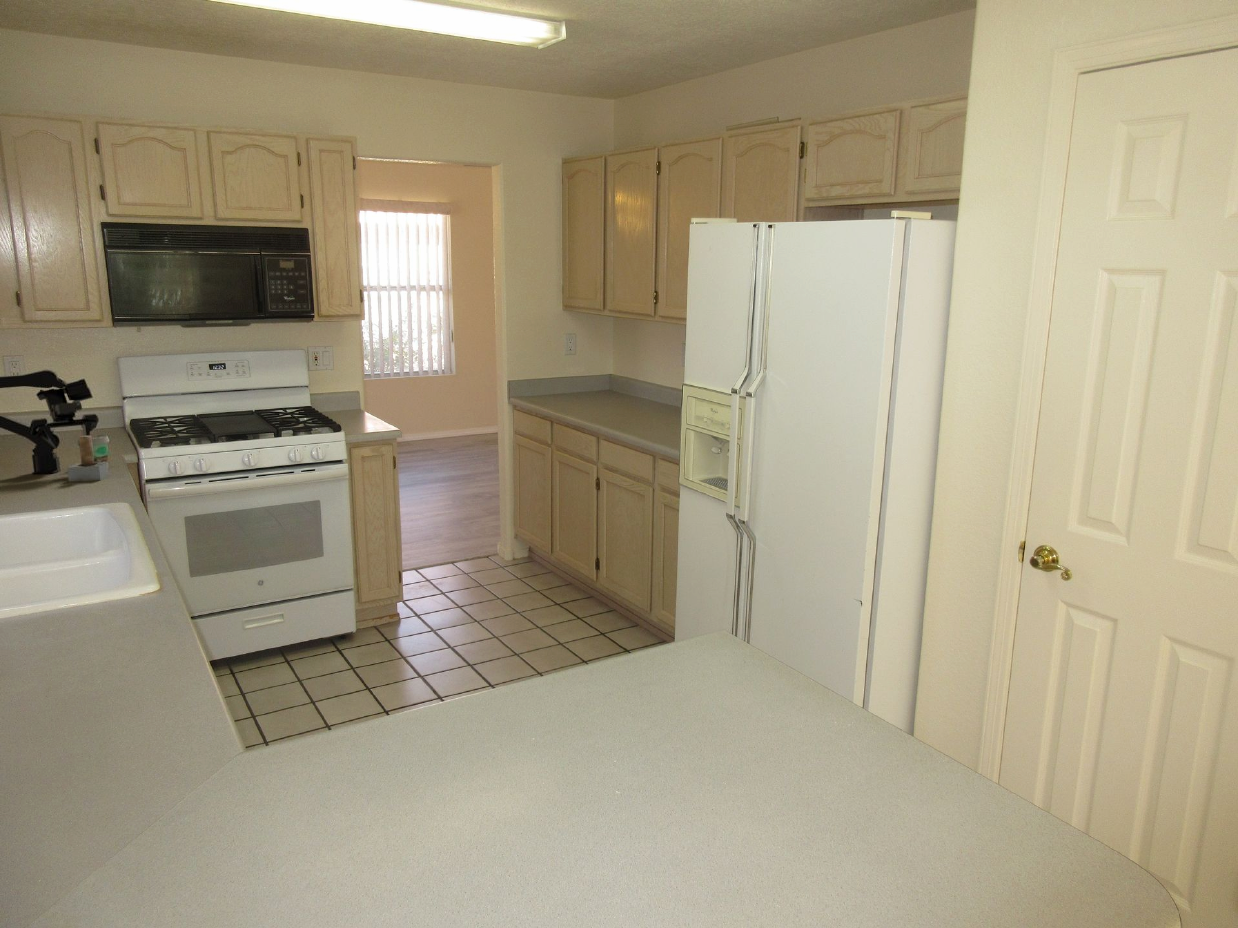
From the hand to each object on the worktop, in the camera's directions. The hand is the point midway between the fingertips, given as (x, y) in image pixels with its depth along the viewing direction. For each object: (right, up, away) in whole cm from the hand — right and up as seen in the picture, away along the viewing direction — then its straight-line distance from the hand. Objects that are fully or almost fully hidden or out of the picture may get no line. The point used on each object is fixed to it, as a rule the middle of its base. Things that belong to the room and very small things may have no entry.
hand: (72, 446), depth 283 cm
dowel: (+8, -9, -4) cm, 13 cm away
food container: (-2, -6, +19) cm, 20 cm away
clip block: (+8, -10, -3) cm, 13 cm away
